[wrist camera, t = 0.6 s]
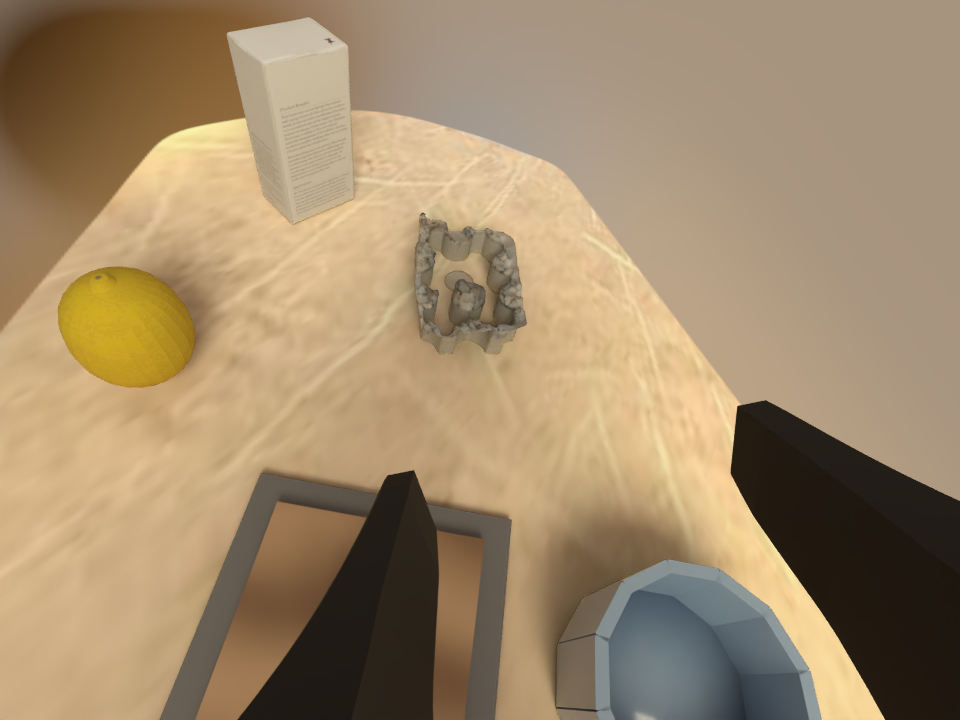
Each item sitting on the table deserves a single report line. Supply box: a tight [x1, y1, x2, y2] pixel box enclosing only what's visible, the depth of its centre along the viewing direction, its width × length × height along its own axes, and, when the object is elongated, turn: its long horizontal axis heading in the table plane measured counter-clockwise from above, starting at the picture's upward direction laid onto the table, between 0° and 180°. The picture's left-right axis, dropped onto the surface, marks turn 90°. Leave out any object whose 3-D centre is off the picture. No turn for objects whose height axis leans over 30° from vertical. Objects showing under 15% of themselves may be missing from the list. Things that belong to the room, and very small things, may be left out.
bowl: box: [556, 559, 822, 720], centre depth 22 cm, size 10×10×5 cm
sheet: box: [195, 502, 485, 720], centre depth 21 cm, size 11×11×5 cm
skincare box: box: [227, 18, 354, 224], centre depth 35 cm, size 6×4×12 cm
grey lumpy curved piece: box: [415, 213, 527, 354], centre depth 35 cm, size 11×8×4 cm
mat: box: [160, 473, 512, 720], centre depth 23 cm, size 14×14×1 cm
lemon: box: [58, 267, 195, 387], centre depth 26 cm, size 6×6×8 cm
